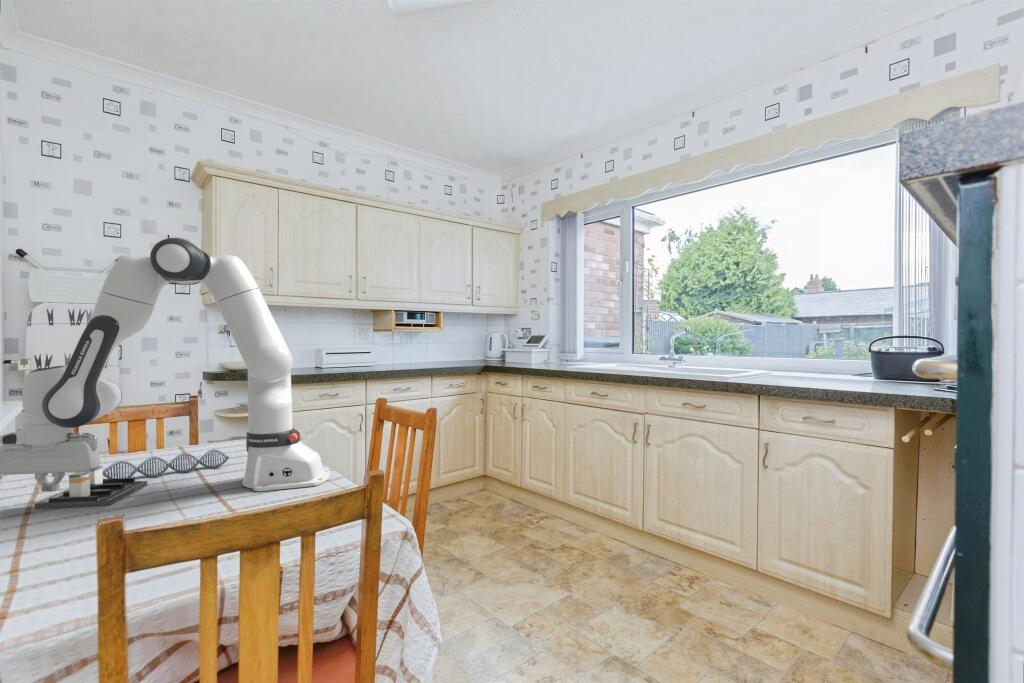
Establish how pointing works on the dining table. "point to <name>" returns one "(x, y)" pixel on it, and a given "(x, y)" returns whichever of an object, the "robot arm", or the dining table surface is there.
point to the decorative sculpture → (167, 465)
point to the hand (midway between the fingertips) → (50, 490)
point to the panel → (95, 494)
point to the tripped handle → (79, 487)
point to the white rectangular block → (78, 475)
